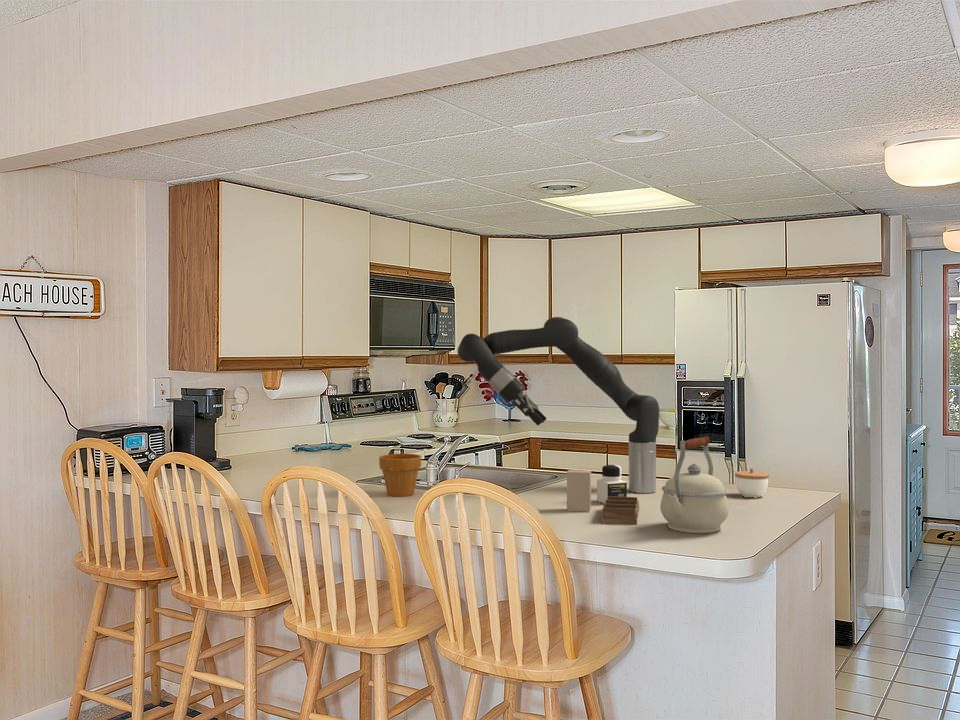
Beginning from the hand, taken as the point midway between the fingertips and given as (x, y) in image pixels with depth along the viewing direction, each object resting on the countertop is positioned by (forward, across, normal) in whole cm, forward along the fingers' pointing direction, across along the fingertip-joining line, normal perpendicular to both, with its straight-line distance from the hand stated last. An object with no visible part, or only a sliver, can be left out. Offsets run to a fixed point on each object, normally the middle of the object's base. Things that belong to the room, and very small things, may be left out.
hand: (542, 422), depth 266 cm
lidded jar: (+65, +34, -28) cm, 79 cm away
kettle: (+50, -22, -12) cm, 56 cm away
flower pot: (-16, +13, +55) cm, 59 cm away
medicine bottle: (+34, +13, +4) cm, 36 cm away
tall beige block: (+27, -2, +11) cm, 29 cm away
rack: (+36, -9, +1) cm, 37 cm away
